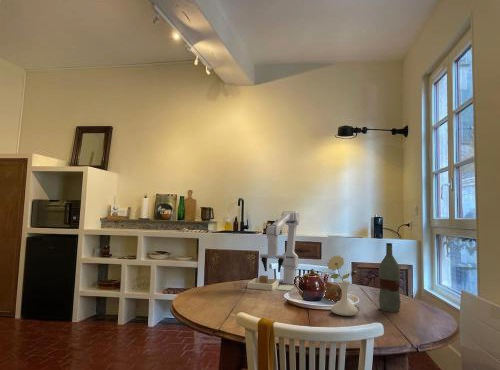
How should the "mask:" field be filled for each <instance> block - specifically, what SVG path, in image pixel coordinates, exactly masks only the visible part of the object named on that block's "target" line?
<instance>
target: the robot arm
mask: <svg viewBox="0 0 500 370" xmlns="http://www.w3.org/2000/svg"><path fill="white" fill-rule="evenodd" d="M299 224H300V213H299V212H298V210H294V211H293V210H291V211H290V210H283V211H282V212H281V216H280V218H279V219H278V218H277V219H276V220H275V221H274V222H273V223H272V224H271V225H268V226H267V227H266V229H265V234H266V239H267V253H266V254H265V253H260V254H259V259H260V261H261V263H262V265H263V269H264V272H267V271H268V259H275V260H277V267H278V268H277V271H278V272H277V273H280V272H281V268H282V269H283V281H282V282H281V284H286V285H295V284H294V279H295V277H296V278H297V272H296V271H297V270H296V269H297V268H298V266H299V255H297V253H296V251H295V249H296V248H295V247H296V239H297V238H296V237H297V226H299ZM285 225H287V226H288V230H287V239H286V240H287V242H286V250H285V252H284V253H283V254H279V253H278V252H279V246H278V245H279V236H280V233H281V231H282V229H283V228H284V226H285Z"/></svg>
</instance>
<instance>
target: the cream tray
mask: <svg viewBox="0 0 500 370" xmlns="http://www.w3.org/2000/svg"><path fill="white" fill-rule="evenodd" d="M279 282H280V280H279V279H273V278H272V279H270V278H268V284H261V283H259V277H256V278H253V279H252V280H250V281H248V282H247V287H246V288H247V289H254V290H256V289H257V290H266V291H273V290H276V289H277V288H278V287H279V286H280V285H279Z"/></svg>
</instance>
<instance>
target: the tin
mask: <svg viewBox="0 0 500 370" xmlns="http://www.w3.org/2000/svg"><path fill="white" fill-rule="evenodd" d="M326 282H327V289H326V292H325V296H324V298H326V299H325V300H327V299H330V300H333V301H337V302H338V301H340V300H341V297H342V289H341V285H340V284H336V283H333V282H330V281H326ZM324 298H323V299H324ZM330 300H329V301H330ZM333 301H332V302H333Z"/></svg>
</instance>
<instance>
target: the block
mask: <svg viewBox="0 0 500 370" xmlns="http://www.w3.org/2000/svg"><path fill="white" fill-rule="evenodd" d="M258 278H259V283H261V284H268V279H269V275H259V277H258Z"/></svg>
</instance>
